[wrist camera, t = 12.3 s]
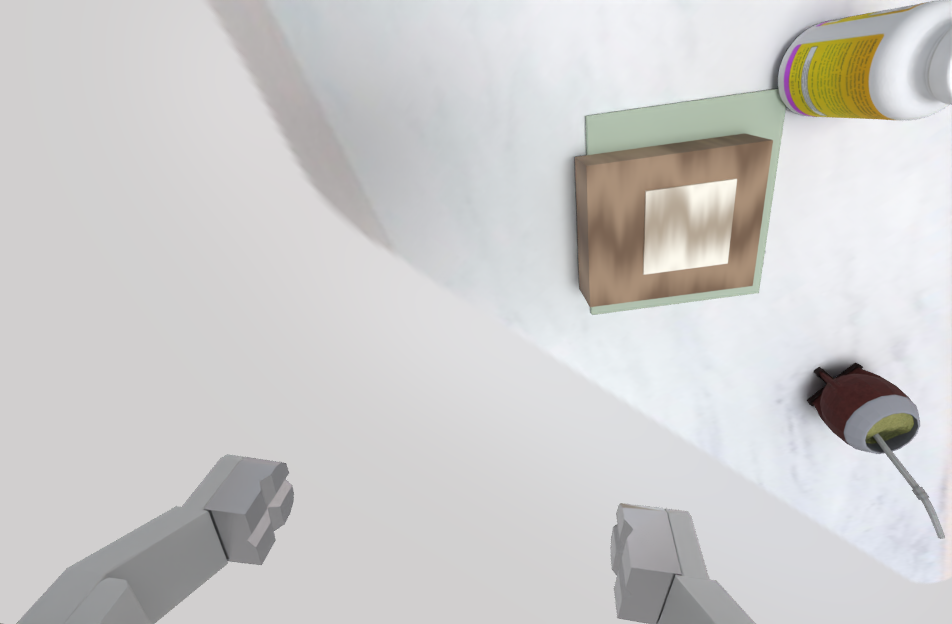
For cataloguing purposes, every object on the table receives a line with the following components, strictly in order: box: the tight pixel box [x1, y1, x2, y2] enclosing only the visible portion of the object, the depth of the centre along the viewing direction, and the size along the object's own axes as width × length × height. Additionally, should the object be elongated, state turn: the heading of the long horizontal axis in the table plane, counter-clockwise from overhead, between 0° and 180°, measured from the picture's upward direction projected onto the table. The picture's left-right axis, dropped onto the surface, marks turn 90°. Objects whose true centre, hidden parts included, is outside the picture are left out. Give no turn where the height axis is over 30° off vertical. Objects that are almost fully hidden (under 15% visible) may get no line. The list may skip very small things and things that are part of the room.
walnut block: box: [575, 133, 773, 307], centre depth 41 cm, size 12×4×14 cm
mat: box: [585, 89, 786, 315], centre depth 43 cm, size 18×16×1 cm
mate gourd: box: [807, 363, 945, 539], centre depth 46 cm, size 8×8×15 cm
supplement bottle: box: [778, 0, 952, 120], centre depth 33 cm, size 7×7×13 cm
